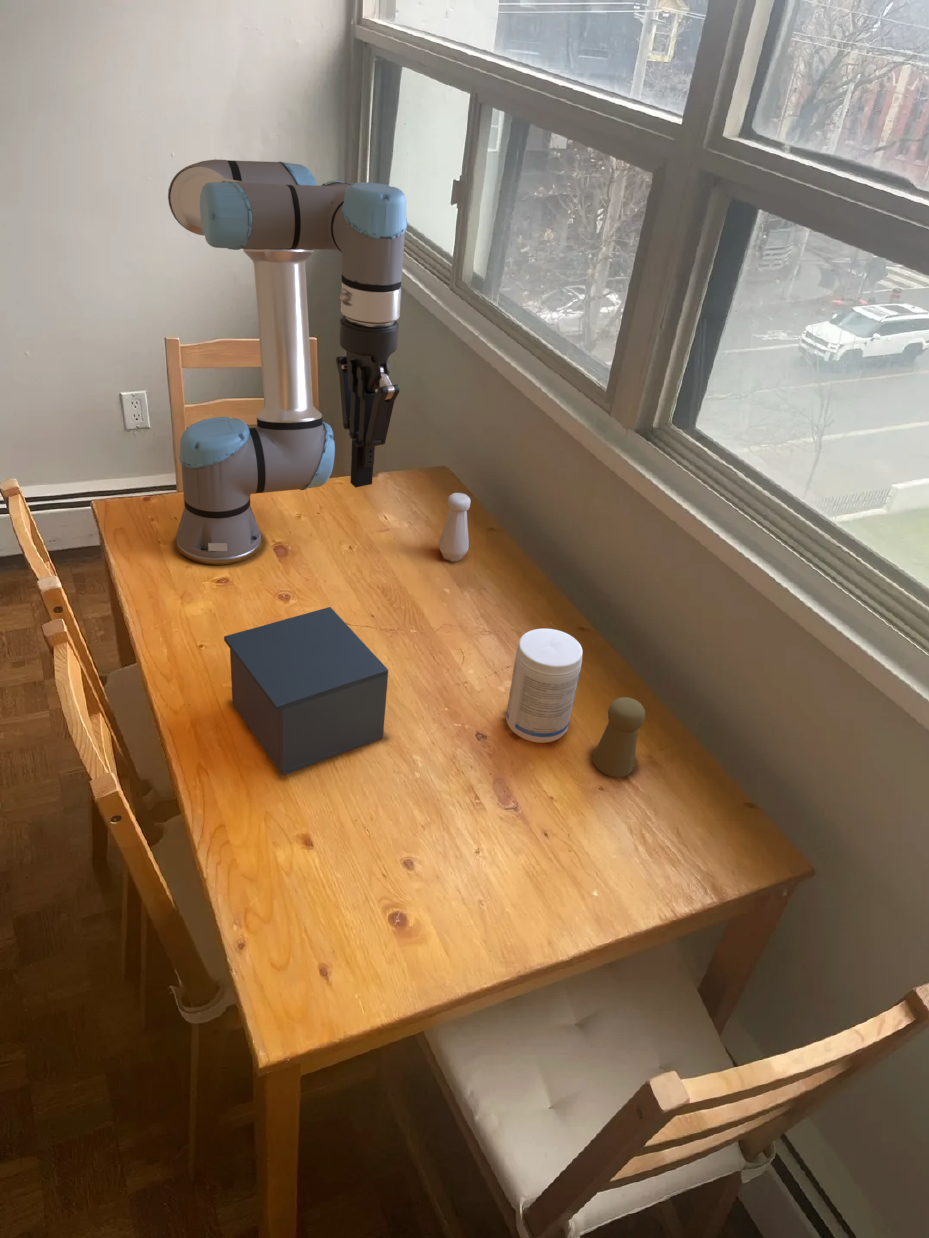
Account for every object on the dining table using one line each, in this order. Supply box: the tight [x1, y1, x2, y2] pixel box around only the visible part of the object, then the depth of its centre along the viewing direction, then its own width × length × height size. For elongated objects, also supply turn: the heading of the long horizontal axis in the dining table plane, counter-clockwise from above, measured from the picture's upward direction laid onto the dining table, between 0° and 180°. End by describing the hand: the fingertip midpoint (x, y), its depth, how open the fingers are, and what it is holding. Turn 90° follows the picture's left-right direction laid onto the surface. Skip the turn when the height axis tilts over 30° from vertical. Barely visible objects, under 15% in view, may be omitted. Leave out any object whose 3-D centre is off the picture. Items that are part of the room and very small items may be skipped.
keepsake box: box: [229, 648, 389, 777], centre depth 128 cm, size 16×17×12 cm
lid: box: [223, 606, 389, 711], centre depth 125 cm, size 17×17×1 cm
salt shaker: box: [438, 492, 472, 563], centre depth 171 cm, size 6×6×13 cm
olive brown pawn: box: [592, 696, 646, 778], centre depth 129 cm, size 6×6×11 cm
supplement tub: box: [505, 628, 584, 744], centre depth 133 cm, size 10×10×15 cm
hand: (361, 483), depth 129 cm, fingers closed
